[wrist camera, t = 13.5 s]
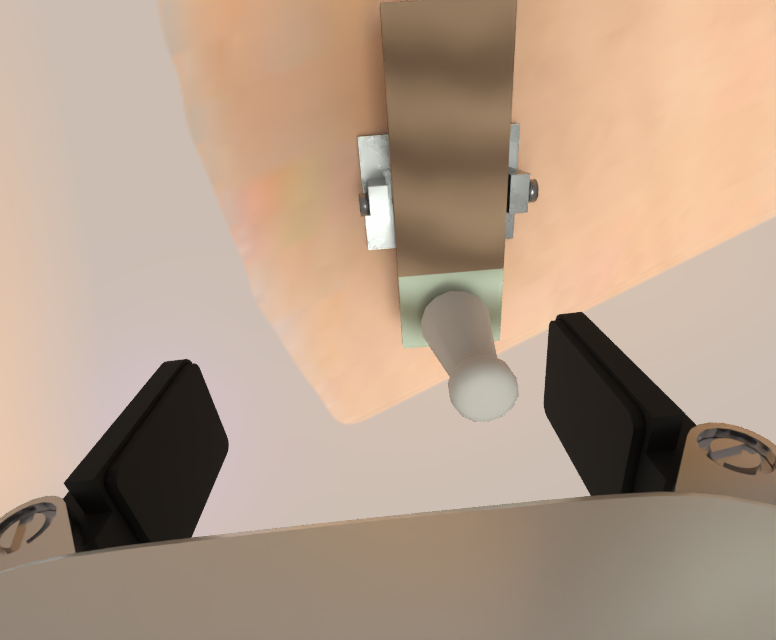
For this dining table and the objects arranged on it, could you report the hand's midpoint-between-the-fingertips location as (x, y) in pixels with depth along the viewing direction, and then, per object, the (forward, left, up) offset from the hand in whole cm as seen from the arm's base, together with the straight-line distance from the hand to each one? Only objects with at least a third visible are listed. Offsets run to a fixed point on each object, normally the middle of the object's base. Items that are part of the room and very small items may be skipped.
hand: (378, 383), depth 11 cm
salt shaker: (+9, +6, -24) cm, 27 cm away
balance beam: (0, +6, -26) cm, 26 cm away
